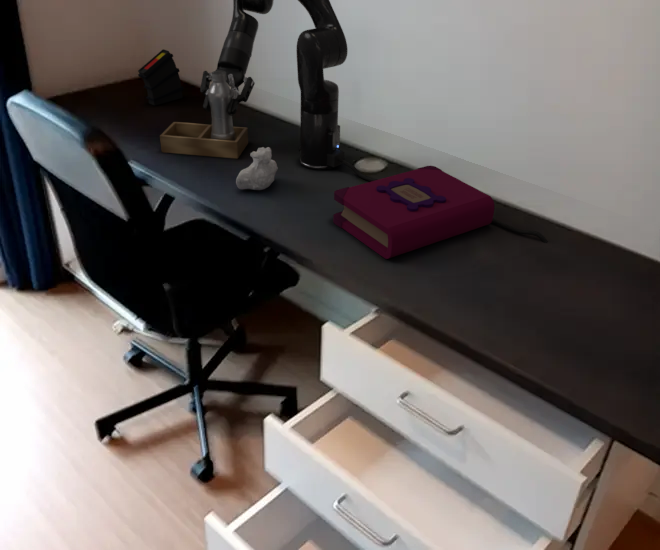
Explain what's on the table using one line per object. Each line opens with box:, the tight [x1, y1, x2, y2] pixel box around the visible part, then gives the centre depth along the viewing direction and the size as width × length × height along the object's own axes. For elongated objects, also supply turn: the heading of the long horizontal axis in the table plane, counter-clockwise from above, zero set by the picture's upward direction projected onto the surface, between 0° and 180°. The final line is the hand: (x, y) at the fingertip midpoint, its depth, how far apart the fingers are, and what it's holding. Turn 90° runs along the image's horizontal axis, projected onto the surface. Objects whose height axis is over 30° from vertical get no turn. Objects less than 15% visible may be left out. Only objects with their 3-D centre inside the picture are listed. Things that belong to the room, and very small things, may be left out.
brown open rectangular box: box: [159, 121, 249, 160], centre depth 188 cm, size 20×11×4 cm, turn 81°
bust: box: [235, 146, 279, 191], centre depth 167 cm, size 12×8×11 cm
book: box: [332, 165, 495, 260], centre depth 154 cm, size 21×28×8 cm
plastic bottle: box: [208, 70, 236, 141], centre depth 184 cm, size 6×7×20 cm
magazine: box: [137, 49, 185, 106], centre depth 217 cm, size 4×13×15 cm, turn 138°
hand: (218, 112), depth 182 cm, fingers closed on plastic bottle, 6 cm apart
